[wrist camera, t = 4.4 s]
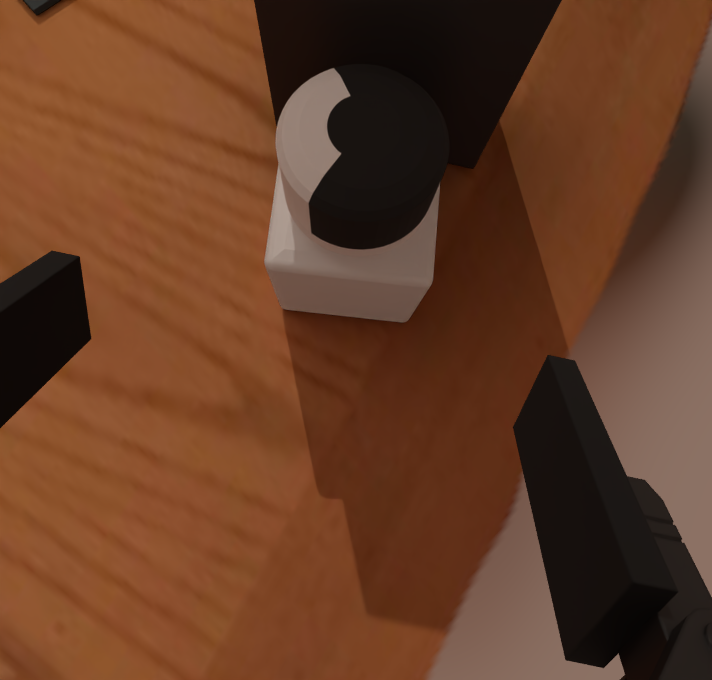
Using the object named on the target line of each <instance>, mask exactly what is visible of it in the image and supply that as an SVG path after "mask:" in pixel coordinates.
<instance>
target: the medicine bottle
mask: <svg viewBox="0 0 712 680" xmlns="http://www.w3.org/2000/svg"><path fill="white" fill-rule="evenodd" d="M276 151H277V158H278V163H279V165H278V171H277V178H276V185H275V192H274V199H273V206H272V213H271V220H270V227H269V234H268V240H267V247H266V254H265V261H264V262H265V267H266V270H267V272H268V275H269V277H270V280H271V283H272V285H273V288H274V291H275V293H276V296H277V298H278V301H279V304H280V306H281V307H282V308H283V309H285V310H293V311H302V312H311V313H320V314H330V315H339V316H348V317H357V318H366V319H375V320H384V321H393V322H402V323H403V322H407V321H408V320H409V319H410V317H411V315H412V314H413V312H414V311H415V309H416V308H417V306H418V305H419V303H420V302H421V300H422V298H423V297H424V295H425V294H426V292H427V291H428V289H429V288H430V286H431V285H432V282H433V274H434V261H435V247H436V234H437V220H438V206H439V193H440V182H441V179H442V177H443V175H444V172H445V169H446V166H447V162H448V157H449V134H448V129H447V126H446V122H445V120H444V117H443V115H442V113H441V111H440V109H439V107H438V106H437V104H436V103H435V101H434V100H433V99H432V98H431V96H430V95H429V94H428V93H427V92H426V91H425V90H424V89H423V88H422V87H421V86H420V85H418V84H417V83H415V82H414V81H413V80H411V79H410V78H408V77H406V76H404V75H403V74H401V73H399V72H397V71H394V70H391V69H389V68H385V67H381V66H377V65H370V64H351V65H344V66H340V67H336V68H332V69H329V70H327V71H324V72H322V73H320V74H318V75H316V76H314V77H312V78H311V79H309V80H308V81H306V82H305V83H304V84H302V85H301V86H300V87H299V88H298V89H297V90H296V91H295V92H294V93H293V94H292V96H291V97H290V98H289V100H288V101H287V103H286V105H285V106H284V108H283V110H282V112H281V115H280V118H279V121H278V125H277V130H276Z"/></svg>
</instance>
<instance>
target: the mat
mask: <svg viewBox="0 0 712 680" xmlns="http://www.w3.org/2000/svg"><path fill="white" fill-rule="evenodd" d="M23 1H24V2H25V3H26V4H27V5H28V6H29V8H30V9H31V10H32V11H33V12H34V13H35V14H36V15H38V14H40V13H42V12H43V11H45V10H46V9H48V8H49V7H51V6H52V5H54V4H56V3H57V2H59V1H60V0H23Z"/></svg>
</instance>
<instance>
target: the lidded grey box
mask: <svg viewBox="0 0 712 680" xmlns="http://www.w3.org/2000/svg"><path fill="white" fill-rule="evenodd" d="M561 1H562V0H254V2H255V8H256V13H257V19H258V25H259V30H260V36H261V42H262V47H263V53H264V58H265V64H266V70H267V75H268V81H269V87H270V92H271V98H272V104H273V109H274V115H275V121H276V126H277V125H278V121H279V118H280V115H281V112H282V110H283V108H284V106H285V105H286V103H287V101H288V100H289V98H290V97H291V96H292V94H293V93H294V92H295V91H296V90H297V89H298V88H299V87H300V86H301V85H302V84H304V83H305V82H306V81H308V80H309V79H311V78H312V77H314V76H316V75H318V74H320V73H322V72H324V71H327V70H329V69H332V68H336V67H340V66H344V65H351V64H370V65H377V66H381V67H385V68H389V69H391V70H394V71H397V72H399V73H401V74H403V75H404V76H406V77H408V78H410V79H411V80H413V81H414V82H415V83H417V84H418V85H420V86H421V87H422V88H423V89H424V90H425V91H426V92H427V93H428V94H429V95H430V96H431V98H432V99H433V100H434V101H435V103H436V104H437V106H438V107H439V109H440V111H441V113H442V115H443V117H444V120H445V122H446V126H447V129H448V134H449V157H448V162H447V163H450V164H454V165H459V166H463V167H468V168H474V167H475V165H476V163H477V161H478V159H479V157H480V156H481V154H482V152H483V150H484V148H485V146H486V144H487V142H488V140H489V138H490V136H491V135H492V133H493V131H494V129H495V127H496V125H497V123H498V121H499V119H500V117H501V115H502V113H503V112H504V110H505V108H506V106H507V104H508V102H509V100H510V98H511V96H512V94H513V92H514V91H515V89H516V87H517V85H518V83H519V81H520V79H521V77H522V75H523V73H524V71H525V69H526V68H527V66H528V64H529V62H530V60H531V58H532V56H533V54H534V52H535V50H536V48H537V47H538V45H539V43H540V41H541V39H542V37H543V35H544V33H545V31H546V29H547V27H548V25H549V24H550V22H551V20H552V18H553V16H554V14H555V12H556V10H557V8H558V6H559V4H560V3H561Z"/></svg>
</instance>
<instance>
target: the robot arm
mask: <svg viewBox="0 0 712 680" xmlns="http://www.w3.org/2000/svg"><path fill="white" fill-rule="evenodd" d="M90 340H91V334H90V327H89V320H88V313H87V306H86V299H85V291H84V284H83V277H82V270H81V263H80V256H75V255H70V254H65V253H61V252H56V251H51V252H49V253H48V254H46V255H45V256H43V257H41V258H40V259H38V260H37V261H35V262H34V263H32V264H30V265H29V266H27V267H26V268H24V269H23V270H21V271H19V272H18V273H16V274H15V275H13V276H12V277H10V278H8V279H7V280H5V281H4V282H2V283H1V284H0V428H1V427H2V426H3V425H4V424H5V423H6V422H7V421H8V420H9V419H10V418H11V417H12V416H13V415H14V414H15V413H16V412H17V411H18V410H19V409H20V408H21V407H22V406H23V405H24V404H25V403H26V402H27V401H28V400H29V399H30V398H32V397H33V396H34V395H35V394H36V393H37V392H38V391H39V390H40V389H41V388H42V387H43V386H44V385H45V384H46V383H47V382H48V381H49V380H50V379H51V378H52V377H53V376H54V375H55V374H56V373H57V372H58V371H59V370H60V369H61V368H62V367H63V366H64V365H65V364H66V363H67V362H68V361H69V360H70V359H71V358H72V357H73V356H74V355H75V354H76V353H77V352H78V351H79V350H80V349H81V348H82V347H83V346H84V345H86V344H87V343H88V342H89V341H90ZM513 429H514V434H515V438H516V443H517V447H518V451H519V456H520V460H521V465H522V469H523V474H524V478H525V482H526V487H527V491H528V496H529V500H530V505H531V509H532V513H533V518H534V522H535V527H536V531H537V536H538V540H539V544H540V549H541V553H542V558H543V562H544V567H545V571H546V575H547V580H548V584H549V589H550V593H551V598H552V602H553V607H554V611H555V615H556V619H557V624H558V629H559V633H560V638H561V642H562V646H563V650H564V655H565V659H566V660H567V661H572V662H577V663H582V664H587V665H592V666H597V667H602V668H604V667H605V666H606V665H607V664H608V663H609V662H610V661H611V660H612V659H613V658H614V657H615V656H616V655H617V654H618V653H619V656H620V659H621V662H622V666H623V669H624V672H625V675H624V676H623V677H622V678H621V679H620V680H712V597H711V595H710V593H709V591H708V590H707V587H706V586H705V583H704V581H703V579H702V578H701V575H700V574H699V571H698V569H697V567H696V565H695V563H694V562H693V560H692V557H691V555H690V553H689V552H688V549H687V548H686V545H685V544H684V543H682V542H681V540H682V538H681V536H680V534H679V532H678V530H677V528H676V526H675V525H673V520H672V518H671V516H670V514H669V512H668V510H667V508H666V506H665V504H664V502H663V500H662V499H661V498H660V496H659V495H658V494H657V493H656V492H655V491H654V490H653V489H652V488H651V487H650V485H649V484H648V483H647V482H646V481H645V480H642V479H638V478H633V477H627V475H626V473H625V471H624V469H623V467H622V464H621V462H620V460H619V458H618V456H617V453H616V451H615V449H614V447H613V444H612V442H611V440H610V438H609V435H608V433H607V431H606V429H605V427H604V424H603V422H602V420H601V418H600V415H599V413H598V411H597V409H596V406H595V404H594V402H593V400H592V398H591V395H590V393H589V391H588V389H587V386H586V384H585V382H584V380H583V378H582V375H581V373H580V371H579V369H578V366H577V364H576V362H575V361H574V360H569V359H565V358H560V357H555V356H550V355H548V356H547V358H546V360H545V362H544V364H543V366H542V368H541V370H540V372H539V374H538V376H537V378H536V380H535V383H534V385H533V387H532V389H531V391H530V393H529V395H528V397H527V399H526V401H525V403H524V405H523V407H522V409H521V412H520V414H519V416H518V418H517V420H516V422H515V424H514V426H513Z"/></svg>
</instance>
